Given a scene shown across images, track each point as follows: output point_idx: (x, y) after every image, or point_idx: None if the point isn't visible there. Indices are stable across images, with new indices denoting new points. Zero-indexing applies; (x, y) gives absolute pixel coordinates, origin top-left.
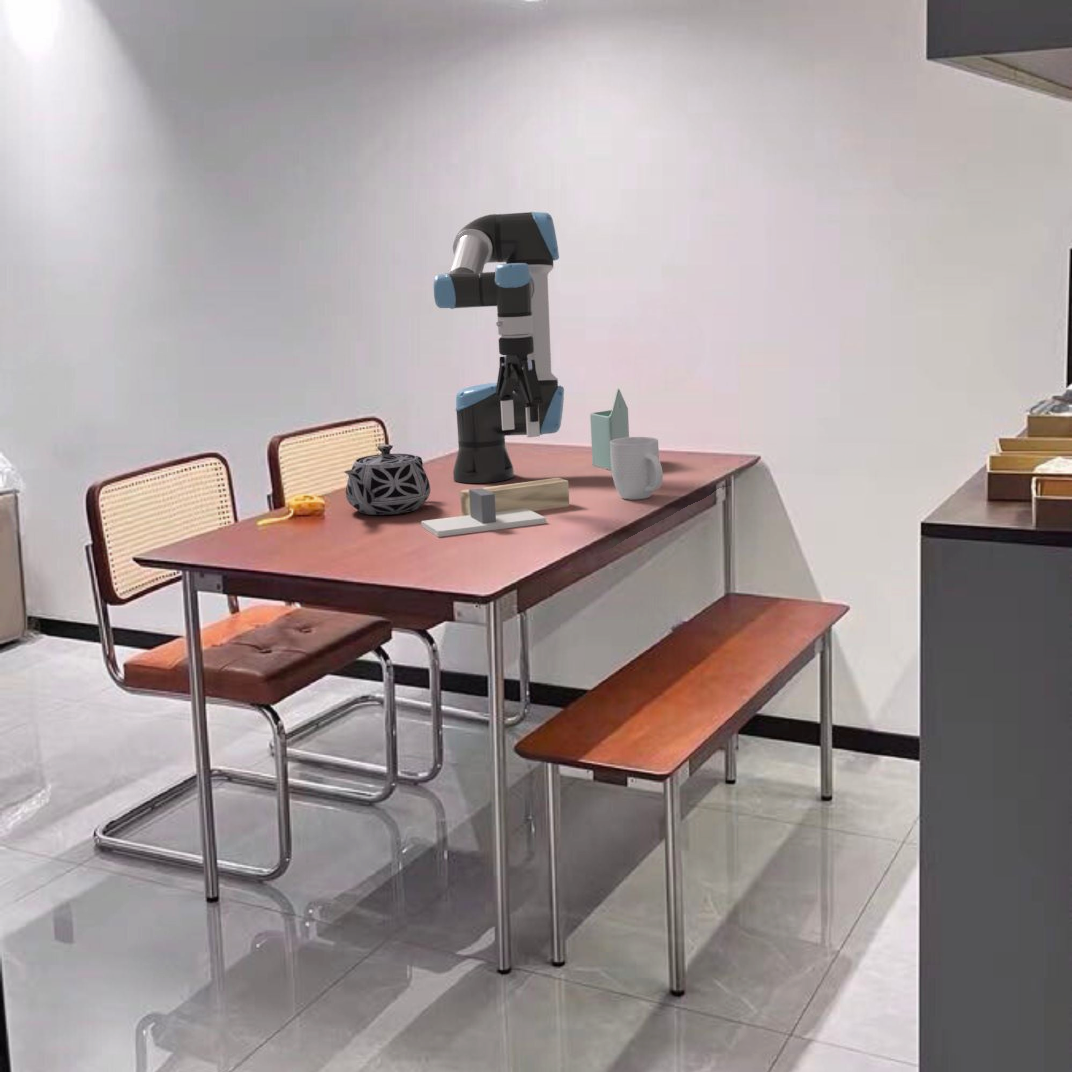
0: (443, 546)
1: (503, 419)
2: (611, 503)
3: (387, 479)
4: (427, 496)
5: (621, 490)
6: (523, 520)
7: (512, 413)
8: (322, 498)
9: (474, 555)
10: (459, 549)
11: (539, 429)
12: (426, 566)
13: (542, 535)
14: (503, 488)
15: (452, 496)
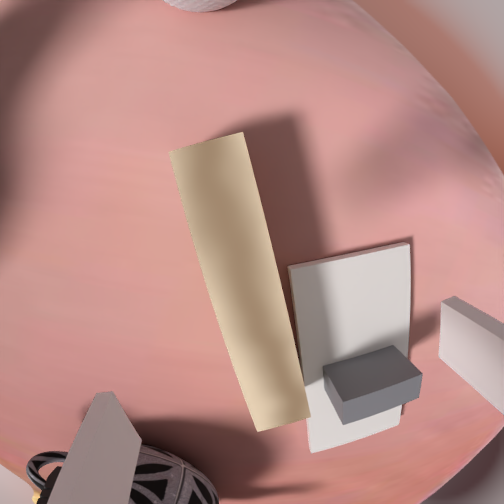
0: (444, 403)
1: (130, 481)
2: (252, 43)
3: None
4: (161, 454)
5: (226, 5)
6: (409, 293)
7: (91, 465)
8: None
9: None
10: None
11: (476, 308)
12: None
13: (472, 266)
14: (278, 344)
15: (43, 376)
